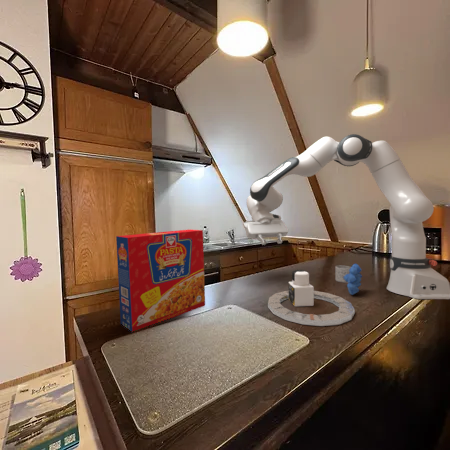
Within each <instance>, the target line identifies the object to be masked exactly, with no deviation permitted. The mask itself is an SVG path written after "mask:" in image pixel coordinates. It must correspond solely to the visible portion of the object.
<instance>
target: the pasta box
mask: <svg viewBox="0 0 450 450" xmlns="http://www.w3.org/2000/svg"><path fill="white" fill-rule="evenodd" d="M115 238H116V256H117V276H118V278H117V280H118V295H119V296H118V297H119V313H120V315H119V316H120V325H121V324H122V325H123V326H125V327H126V328H128V329H129V330H130V331H132V332H133V331H135V330H138V329H141V328H144V327H146V326H149V325H152V324H155V323H158V322H160V323H162V322H161V321H163V322H165V321H164V320H166V321H168V320H171V319H173V318H176V317H178V316H181V315H184V314H186V313H189V312H191V311H194V310H196V309H199V308H202V307H204V306H206V292H205V289H206V288H205V285H206V284H205V258H204V257H205V256H204V230H202V229H182V230H181V229H180V230H170V231H160V232H159V231H158V232H148V233H147V232H146V233H136V234H124V235H116V236H115ZM170 318H171V319H170ZM167 319H168V320H167ZM158 324H159V323H158ZM122 325H121V326H122ZM155 325H156V324H155ZM123 326H122V327H123ZM152 326H153V325H152ZM125 327H124V328H125ZM126 328H125V329H126ZM129 330H128V331H129ZM130 331H129V332H130ZM132 332H131V333H132Z"/></svg>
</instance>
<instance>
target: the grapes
mask: <svg viewBox="0 0 450 450" xmlns="http://www.w3.org/2000/svg"><path fill="white" fill-rule="evenodd" d="M350 267H351V268H350V269H349V272H350V273H349V274H346V275H345V276H344V277H343V278H344V280H345V281H346V282H347V283H346V287H347V291H348V293H349V294H350V295H352V296H353V295H355V294H357V293H359V291H360V289H359V287H360V286H361V285H362V283H361V281H362V277H363V275H362V274H361V272H362V268H361V267H360V265H359V264H357V263H353V264H352V265H351V266H350Z"/></svg>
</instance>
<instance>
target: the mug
mask: <svg viewBox="0 0 450 450" xmlns="http://www.w3.org/2000/svg"><path fill="white" fill-rule="evenodd" d="M350 268H351V266H349V265H340V264H337V265H335V275H334V276H335V277H334V278H335V281H336V282H339V283H346V284H348V282H346V281H345V280H344V278H343V277H344V276H345V275H346V274H349V273H350V272H349V269H350Z"/></svg>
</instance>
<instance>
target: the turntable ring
mask: <svg viewBox="0 0 450 450" xmlns="http://www.w3.org/2000/svg"><path fill="white" fill-rule="evenodd" d="M314 299H317V300H322V301H325V302H328V303H331V304H333V305H334V306H336V307H338V311H334V312H331V313H326V314H325V313H323V314H313V313H309V314H307V313H301V312H298V311H294V310H291V309H289V308H287V307H284V306H283V304H281V303H282V302H284V301H287V300H289V290H285V291H284V290H283V291H280V292H276V293H274V294H272V295H271V296H269V298H268V301H267V308H268V309H269V310H270V311H271V314H273V315H275V316H277V317H279V318H280V319H283V320H285V321H287V322H291V323H292V322H293V323H296V324H300V325H303V326H304V325H305V326H316V327H325V326H326V327H327V326H328V327H329V326H338V325H339V326H340V325H342V324H345V323H347V322H349V321H352V319H353V318H354V315H355V313H356V311H355V307H354V306H353V305H352V303H351V302H350V301H348V300H347V299H345V298H343V297H341V296H338V295H335V294H332V293H329V292H325V291H324V292H323V291H318V290H314Z"/></svg>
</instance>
